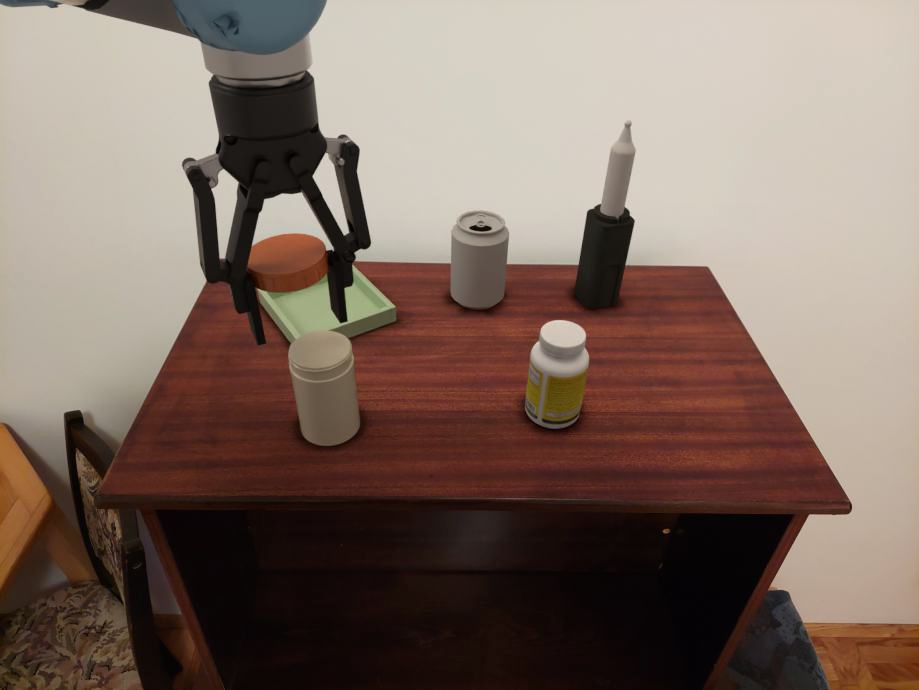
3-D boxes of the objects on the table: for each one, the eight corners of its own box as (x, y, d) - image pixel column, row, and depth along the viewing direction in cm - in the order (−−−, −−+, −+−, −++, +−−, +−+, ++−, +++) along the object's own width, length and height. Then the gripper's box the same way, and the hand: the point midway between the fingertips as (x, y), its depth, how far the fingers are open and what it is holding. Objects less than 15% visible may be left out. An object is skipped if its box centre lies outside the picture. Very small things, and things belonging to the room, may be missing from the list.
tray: (300, 355, 79) (297, 341, 78) (260, 302, 88) (257, 288, 86) (396, 320, 85) (395, 306, 84) (350, 274, 94) (348, 260, 92)
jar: (327, 455, 66) (316, 378, 60) (288, 426, 70) (272, 350, 63) (372, 422, 70) (366, 346, 64) (333, 396, 73) (323, 321, 67)
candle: (603, 286, 93) (636, 111, 77) (620, 305, 89) (659, 125, 74) (571, 291, 92) (598, 114, 76) (587, 311, 88) (620, 129, 72)
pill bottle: (588, 406, 73) (604, 328, 66) (563, 439, 69) (578, 360, 62) (540, 385, 76) (551, 308, 69) (513, 415, 72) (522, 337, 65)
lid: (345, 267, 59) (342, 249, 58) (281, 303, 55) (276, 284, 53) (295, 243, 63) (292, 225, 61) (232, 274, 58) (226, 256, 57)
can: (449, 312, 87) (450, 232, 79) (451, 282, 93) (452, 205, 85) (504, 314, 87) (511, 235, 79) (503, 283, 93) (509, 207, 85)
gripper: (370, 47, 53) (382, 281, 68) (105, 73, 46) (182, 331, 60) (407, 71, 48) (412, 319, 62) (116, 104, 41) (197, 379, 55)
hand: (299, 325), depth 61 cm, fingers closed on lid, 7 cm apart
